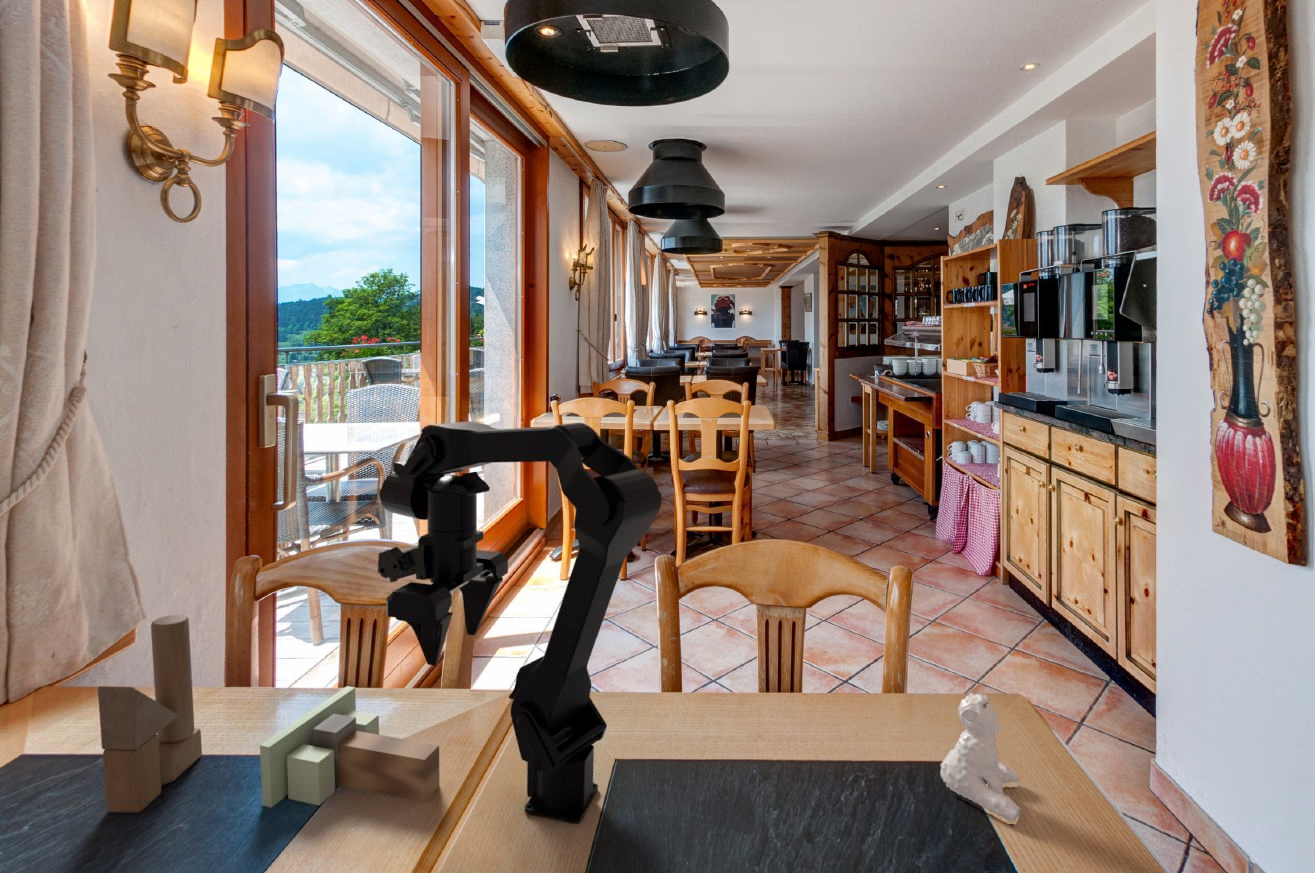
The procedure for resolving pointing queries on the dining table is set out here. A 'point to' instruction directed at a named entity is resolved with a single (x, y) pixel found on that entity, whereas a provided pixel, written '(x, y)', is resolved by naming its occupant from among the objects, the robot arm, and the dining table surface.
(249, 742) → the dining table surface
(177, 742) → the wooden block
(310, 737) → the pale green slab
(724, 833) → the dining table surface
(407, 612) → the robot arm
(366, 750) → the hammer
